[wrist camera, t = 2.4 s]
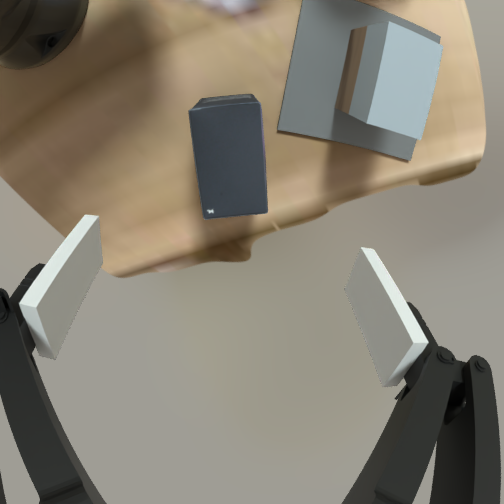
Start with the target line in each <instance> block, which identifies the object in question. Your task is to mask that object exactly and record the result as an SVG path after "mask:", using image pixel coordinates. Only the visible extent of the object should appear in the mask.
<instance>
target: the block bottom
mask: <svg viewBox="0 0 504 504" xmlns="http://www.w3.org/2000/svg"><path fill="white" fill-rule="evenodd" d="M366 31H367V26H365V27H360V28H356V29H352V30H351V33H350V38H349V43H348V48H347V53H346V57H345V62H344V67H343V72H342V76H341V81H340V85H339V90H338V94H337V99H336V103H335V108H336V109H338V110H341V111H343V112H345V113H347V114H349V110H350V106H351V101H352V97H353V93H354V88H355V84H356V79H357V75H358V70H359V66H360V61H361V56H362V51H363V47H364V42H365V37H366Z"/></svg>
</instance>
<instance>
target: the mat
mask: <svg viewBox="0 0 504 504" xmlns="http://www.w3.org/2000/svg"><path fill="white" fill-rule="evenodd" d="M388 21H390V22H392V23H395V24H397V25H399V26H402V27H404V28H406V29H409V30H411V31H413V32H415V33H418V34H420V35H422V36H424V37H426V38H428V39H430V40H432V41H434V42H436V43H438V44H440V38H441V37H440V36H438V35H436V34H435V33H433V32H431V31H429V30H426V29H424V28H422V27H420V26H418V25H416V24H414V23H412V22H409V21H407V20H405V19H403V18H400V17H398V16H395V15H393V14H391V13H388V12H386V11H383V10H380V9H378V8H375V7H372V6H370V5H367V4H364V3H361V2H358V1H355V0H302V5H301V10H300V15H299V20H298V26H297V31H296V36H295V41H294V46H293V51H292V56H291V61H290V66H289V71H288V76H287V81H286V87H285V92H284V97H283V102H282V107H281V112H280V117H279V122H278V127H277V130H282V131H287V132H293V133H298V134H303V135H308V136H313V137H318V138H323V139H328V140H332V141H337V142H341V143H345V144H350V145H354V146H358V147H362V148H366V149H370V150H374V151H377V152H381V153H385V154H388V155H392V156H395V157H399V158H402V159H406V160H409V161H410V160H411V157H412V154H413V150H414V147H415V144H416V140H417V139H415V138H413V137H410V136H407V135H403V134H400V133H397V132H394V131H391V130H388V129H384V128H381V127H378V126H374V125H371V124H367V123H365V122H363V121H361V120H359V119H357V118H355V117H353V116H351V115H349V114H347V113H345V112H343V111H341V110H338V109H336V108H335V103H336V99H337V94H338V90H339V85H340V81H341V76H342V72H343V67H344V62H345V57H346V53H347V48H348V43H349V38H350V33H351V30H352V29H356V28H360V27H365V26H369V25H373V24H378V23H383V22H388Z"/></svg>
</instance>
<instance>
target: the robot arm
mask: <svg viewBox="0 0 504 504" xmlns="http://www.w3.org/2000/svg"><path fill="white" fill-rule="evenodd" d="M87 6H88V0H0V65H2V66H4V67H7V68H10V69H26V68H32V67H36V66H39V65H42V64H44V63H46V62H48V61H50V60H51V59H53V58H54V57H55V56H57V55H58V54H59V53H60V52H61V51H62V50H63V49H64V48H65V47H66V46H67V45H68V44H69V43H70V42H71V40H72V39H73V37H74V36H75V34H76V33H77V31H78V29H79V28H80V26H81V24H82V21H83V19H84V16H85V13H86V10H87ZM102 264H103V258H102V248H101V237H100V224H99V216H94V215H84V217H83V218H82V219H81V220H80V221H79V223H78V224H77V225H76V226H75V228H74V229H73V230H72V231H71V233H70V234H69V235H68V236H67V238H66V239H65V240H64V241H63V243H62V244H61V245H60V247H59V248H58V249H57V250H56V252H55V253H54V254H53V256H52V257H51V258H50V260H49V261H48V263H47V264H40V263H39V264H38V265H36V266H35V267H33V268H32V269H31V270H30V271H29V272H28V274H27V275H26V276H25V279H23V280H22V282H21V283H20V285H19V286H18V287H17V289H16V290H15V292H14V293H13V294H12V296H11V297H10V299H9V296H8V293H7V292H6V291H5V290H4V289H2V288H0V395H1V398H2V402H3V405H4V409H5V412H6V415H7V418H8V422H9V425H10V427H11V430H12V433H13V436H14V439H15V441H16V444H17V447H18V449H19V452H20V454H21V457H22V459H23V462H24V464H25V466H26V469H27V471H28V473H29V475H30V478H31V480H32V482H33V484H34V486H35V488H36V490H37V492H38V495H39V497H40V502H39V504H106V502H105V501H104V500H103V498H102V497H101V495H100V494H99V492H98V490H97V489H96V487H95V486H94V484H93V482H92V481H91V479H90V478H89V476H88V474H87V473H86V471H85V469H84V468H83V466H82V464H81V462H80V460H79V458H78V457H77V455H76V453H75V451H74V449H73V447H72V445H71V444H70V442H69V440H68V438H67V436H66V434H65V432H64V430H63V428H62V425H61V423H60V421H59V419H58V417H57V415H56V413H55V410H54V408H53V406H52V404H51V401H50V399H49V397H48V394H47V392H46V389H45V387H44V384H43V382H42V379H41V376H40V374H39V371H38V368H37V366H36V363H35V360H34V357H33V355H32V352H33V350H34V348H35V346H36V348H37V351H38V353H39V355H40V356H43V357H47V358H50V359H54V360H56V358H57V355H58V353H59V350H60V348H61V346H62V344H63V342H64V339H65V337H66V335H67V333H68V330H69V329H70V326H71V324H72V322H73V320H74V318H75V316H76V314H77V312H78V310H79V308H80V306H81V304H82V302H83V300H84V298H85V296H86V294H87V292H88V290H89V288H90V286H91V284H92V282H93V280H94V279H95V276H96V275H97V273H98V271H99V269H100V267H101V266H102ZM345 292H346V294H347V297H348V299H349V302H350V304H351V306H352V309H353V311H354V314H355V316H356V319H357V321H358V323H359V326H360V329H361V331H362V334H363V336H364V339H365V342H366V344H367V347H368V349H369V352H370V355H371V357H372V360H373V363H374V365H375V368H376V371H377V374H378V376H379V379H380V382H381V384H382V387H390V386H397V385H398V384H399V383H400V381H401V380H402V379H403V377H404V379H405V381H406V383H407V384H406V385H405V386H404V388H403V389H402V390H401V392H400V393H399V394H398V395H397V396H396V398H395V399H396V400H397V399H398V401H397V403H396V405H395V408H394V410H393V412H392V414H391V416H390V418H389V420H388V422H387V424H386V426H385V428H384V430H383V433H382V434H381V436H380V438H379V440H378V442H377V444H376V446H375V448H374V450H373V452H372V454H371V456H370V457H369V459H368V461H367V463H366V464H365V466H364V468H363V470H362V472H361V473H360V475H359V477H358V478H357V480H356V482H355V483H354V485H353V487H352V488H351V490H350V492H349V493H348V495H347V496H346V498H345V499H344V501H343V502H342V504H412V503H413V501H414V498H415V496H416V494H417V491H418V489H419V487H420V484H421V482H422V479H423V477H424V474H425V472H426V469H427V466H428V464H429V461H430V458H431V456H432V453H433V450H434V447H435V444H436V441H437V446H436V458H435V467H434V476H433V484H432V491H431V497H430V503H429V504H500V487H501V463H500V462H501V461H500V438H499V425H498V414H497V406H496V399H495V390H494V384H493V378H492V372H491V368H490V365H489V364H488V362H487V361H486V360H485V359H484V358H482V357H480V356H477V355H474V356H472V357H471V358H470V359H469V360H468V362H467V363H466V362H462V361H458V360H456V359H455V357H454V355H453V354H452V352H451V351H449V350H448V349H447V348H444V347H442V346H438V344H437V343H436V341H435V339H434V337H433V335H432V334H431V332H430V330H429V328H428V327H427V326H426V323H425V321H424V320H423V319H422V316H421V315H420V313H419V311H418V310H417V309H416V308H415V307H414V306H413V305H412V304H411V303H410V302H406V301H405V299H404V298H403V296H402V294H401V293H400V291H399V289H398V288H397V286H396V284H395V283H394V281H393V279H392V278H391V276H390V275H389V273H388V271H387V270H386V268H385V266H384V265H383V263H382V262H381V260H380V258H379V257H378V255H377V254H376V252H375V251H374V249H370V248H363V247H361V248H360V251H359V253H358V256H357V259H356V261H355V264H354V267H353V269H352V271H351V274H350V277H349V279H348V282H347V284H346V287H345ZM465 402H466V404H465ZM0 504H6V499H5V495H4V490H3V484H2V479H1V473H0Z"/></svg>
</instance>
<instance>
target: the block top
mask: <svg viewBox="0 0 504 504" xmlns="http://www.w3.org/2000/svg"><path fill="white" fill-rule="evenodd" d="M442 50H443V46H442V45H440V44H438V43H436V42H434V41H432V40H430V39H428V38H426V37H424V36H422V35H420V34H418V33H415V32H413V31H411V30H409V29H406V28H404V27H402V26H399V25H397V24H395V23H392V22H390V21H388V22H383V23H378V24H373V25H369V26H367V31H366V37H365V42H364V47H363V51H362V56H361V61H360V66H359V70H358V75H357V79H356V84H355V88H354V93H353V97H352V101H351V106H350V110H349V115H351V116H353V117H355V118H357V119H359V120H361V121H363V122H365V123H367V124H371V125H374V126H378V127H381V128H384V129H388V130H391V131H394V132H397V133H400V134H403V135H407V136H410V137H413V138H415V139H418V140H421V138H422V134H423V131H424V127H425V124H426V120H427V116H428V112H429V108H430V105H431V101H432V96H433V92H434V88H435V84H436V79H437V75H438V70H439V65H440V61H441V55H442Z"/></svg>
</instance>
